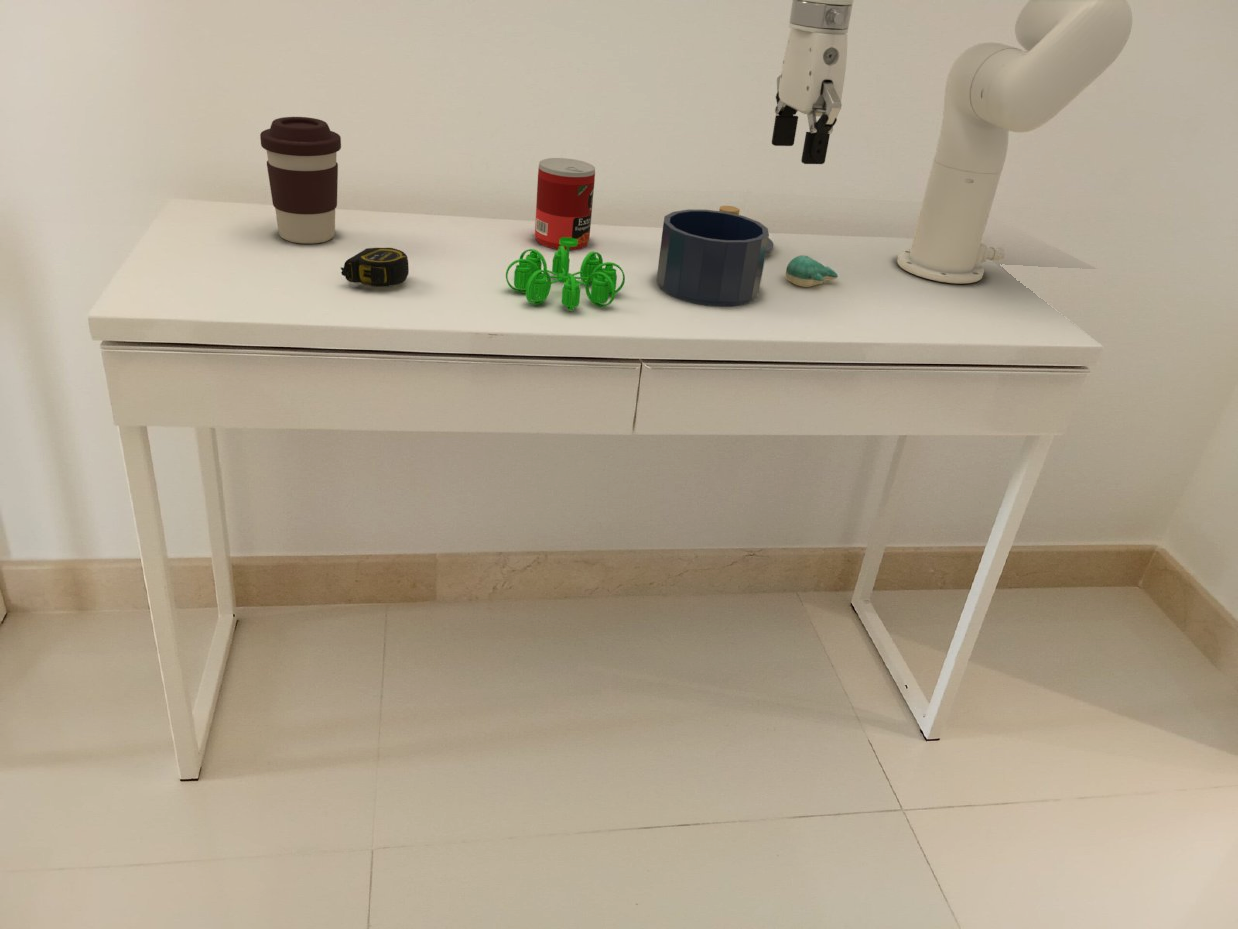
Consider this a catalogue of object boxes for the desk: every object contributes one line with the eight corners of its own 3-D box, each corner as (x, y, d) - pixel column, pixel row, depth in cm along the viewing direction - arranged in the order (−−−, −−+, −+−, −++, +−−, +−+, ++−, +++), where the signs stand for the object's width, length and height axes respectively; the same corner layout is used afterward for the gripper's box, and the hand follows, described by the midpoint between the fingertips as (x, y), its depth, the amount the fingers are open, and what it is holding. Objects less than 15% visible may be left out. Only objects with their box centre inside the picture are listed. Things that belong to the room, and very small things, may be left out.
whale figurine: (776, 275, 139) (781, 249, 137) (822, 274, 142) (827, 248, 140) (796, 290, 135) (801, 263, 133) (843, 289, 137) (848, 262, 135)
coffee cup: (287, 220, 139) (279, 110, 132) (355, 230, 138) (351, 119, 131) (255, 241, 131) (245, 124, 123) (328, 252, 130) (321, 134, 122)
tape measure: (368, 269, 126) (367, 241, 124) (418, 279, 124) (418, 250, 123) (341, 286, 120) (339, 256, 118) (393, 296, 119) (392, 266, 117)
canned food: (582, 253, 139) (588, 175, 134) (527, 245, 140) (531, 166, 135) (594, 238, 146) (601, 162, 140) (542, 230, 147) (546, 154, 141)
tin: (732, 268, 140) (742, 209, 136) (774, 305, 129) (786, 241, 125) (642, 270, 136) (649, 209, 131) (677, 308, 125) (686, 242, 120)
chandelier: (633, 318, 120) (639, 263, 117) (509, 314, 118) (511, 258, 114) (613, 274, 133) (618, 224, 130) (501, 270, 130) (503, 218, 127)
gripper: (879, 28, 120) (851, 171, 129) (817, 9, 134) (795, 139, 143) (823, 25, 118) (798, 170, 127) (766, 6, 132) (747, 138, 141)
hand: (797, 154), depth 135 cm, fingers open, 9 cm apart
